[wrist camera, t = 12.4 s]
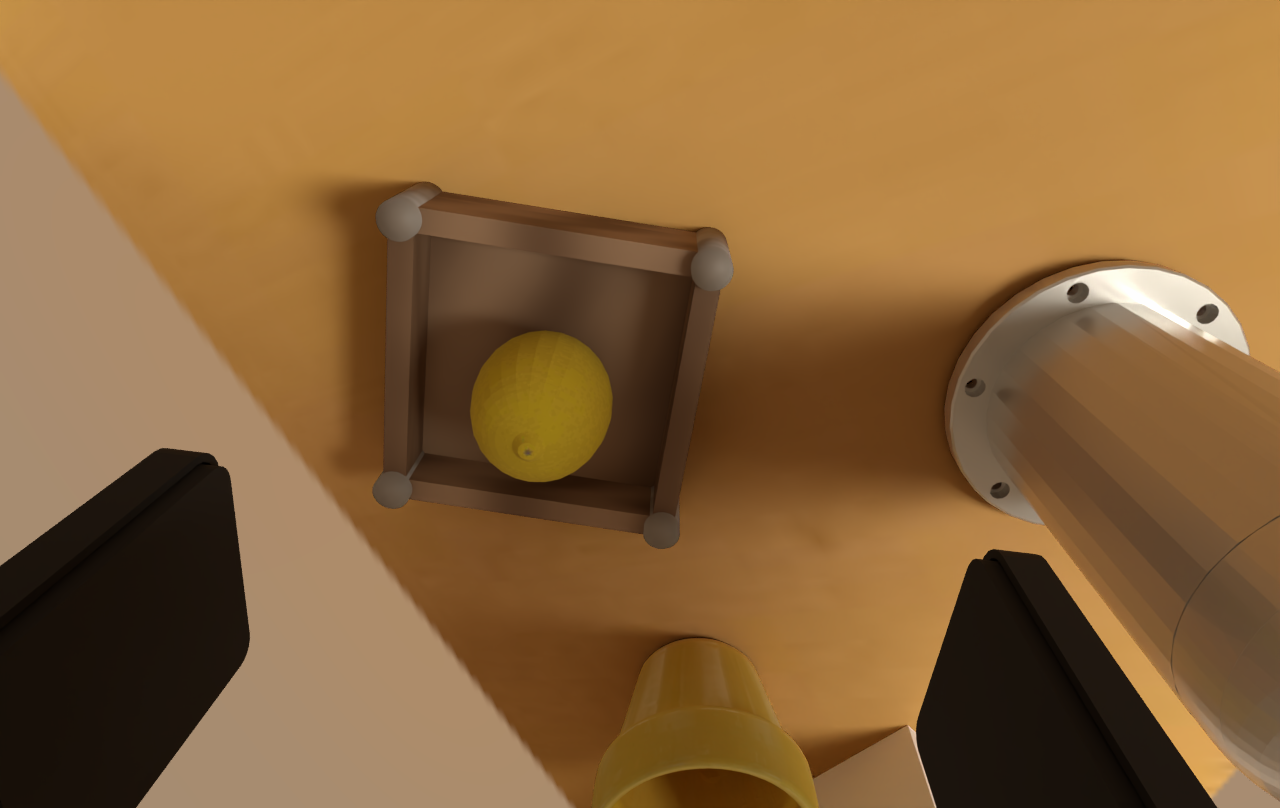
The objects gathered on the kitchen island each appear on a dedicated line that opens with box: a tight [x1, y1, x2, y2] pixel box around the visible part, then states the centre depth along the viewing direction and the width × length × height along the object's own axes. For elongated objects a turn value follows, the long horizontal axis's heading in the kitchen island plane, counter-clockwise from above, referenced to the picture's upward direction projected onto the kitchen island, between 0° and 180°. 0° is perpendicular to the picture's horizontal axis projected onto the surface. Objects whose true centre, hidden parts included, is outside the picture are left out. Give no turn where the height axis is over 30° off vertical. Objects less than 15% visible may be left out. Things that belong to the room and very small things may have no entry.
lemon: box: [470, 330, 613, 482], centre depth 32 cm, size 6×6×8 cm
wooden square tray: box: [373, 182, 733, 549], centre depth 34 cm, size 14×14×4 cm
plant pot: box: [591, 638, 819, 808], centre depth 39 cm, size 10×10×10 cm
